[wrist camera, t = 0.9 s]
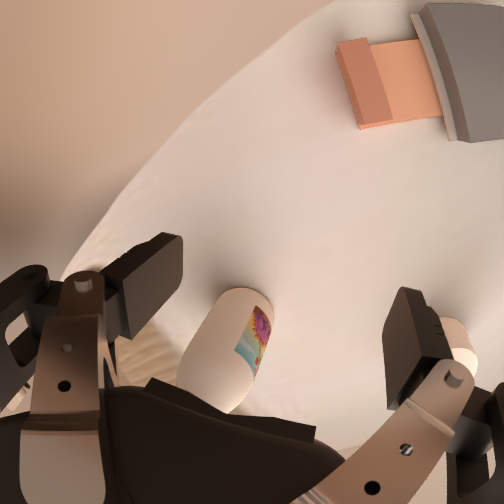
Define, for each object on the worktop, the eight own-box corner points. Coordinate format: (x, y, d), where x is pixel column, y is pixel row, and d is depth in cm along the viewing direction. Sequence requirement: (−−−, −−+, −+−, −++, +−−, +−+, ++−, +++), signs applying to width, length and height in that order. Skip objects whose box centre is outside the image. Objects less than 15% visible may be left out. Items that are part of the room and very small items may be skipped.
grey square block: (501, 19, 16) (522, 9, 11) (532, 129, 20) (557, 133, 16) (407, 19, 20) (418, 3, 16) (444, 139, 24) (463, 143, 20)
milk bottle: (213, 323, 41) (142, 440, 23) (222, 276, 37) (137, 400, 20) (266, 342, 40) (218, 472, 22) (283, 297, 36) (233, 441, 19)
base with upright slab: (469, 352, 33) (491, 417, 22) (413, 376, 37) (423, 444, 26) (459, 305, 31) (490, 373, 20) (396, 334, 35) (408, 408, 24)
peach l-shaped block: (504, 38, 17) (531, 29, 11) (523, 108, 19) (554, 109, 14) (335, 53, 24) (335, 37, 19) (359, 129, 26) (366, 131, 21)
